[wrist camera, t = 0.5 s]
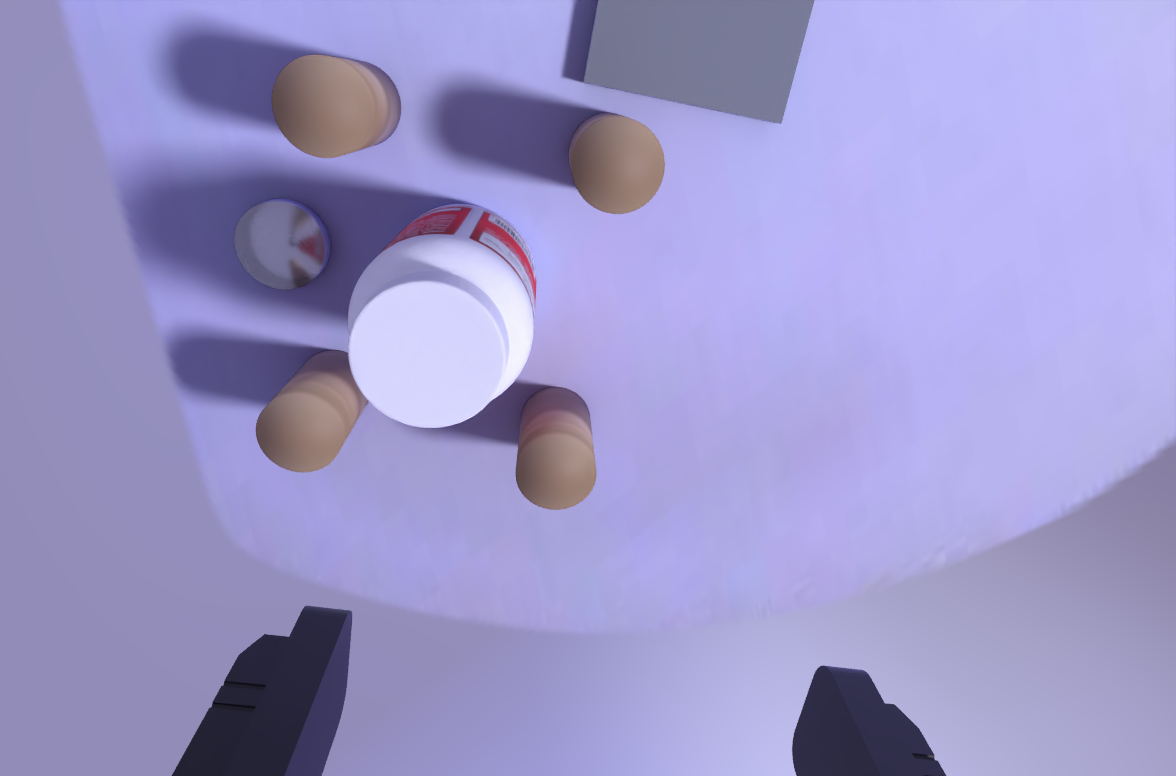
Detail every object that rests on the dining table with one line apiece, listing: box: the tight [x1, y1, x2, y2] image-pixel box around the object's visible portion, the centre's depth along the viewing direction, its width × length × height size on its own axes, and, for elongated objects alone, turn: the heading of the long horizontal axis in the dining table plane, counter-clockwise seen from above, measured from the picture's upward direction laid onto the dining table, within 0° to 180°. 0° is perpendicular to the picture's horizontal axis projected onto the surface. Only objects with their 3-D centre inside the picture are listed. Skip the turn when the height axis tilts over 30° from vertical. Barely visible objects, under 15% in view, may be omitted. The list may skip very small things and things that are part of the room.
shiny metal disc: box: [234, 198, 331, 290], centre depth 32 cm, size 4×4×1 cm
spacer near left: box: [272, 55, 401, 158], centre depth 28 cm, size 3×3×6 cm
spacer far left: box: [256, 350, 368, 472], centre depth 32 cm, size 3×3×6 cm
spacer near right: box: [568, 113, 665, 214], centre depth 29 cm, size 3×3×6 cm
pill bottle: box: [348, 204, 536, 428], centre depth 28 cm, size 6×6×11 cm
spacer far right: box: [516, 387, 596, 510], centre depth 33 cm, size 3×3×6 cm
